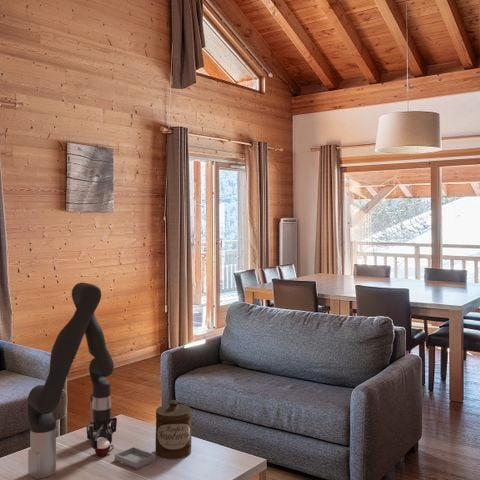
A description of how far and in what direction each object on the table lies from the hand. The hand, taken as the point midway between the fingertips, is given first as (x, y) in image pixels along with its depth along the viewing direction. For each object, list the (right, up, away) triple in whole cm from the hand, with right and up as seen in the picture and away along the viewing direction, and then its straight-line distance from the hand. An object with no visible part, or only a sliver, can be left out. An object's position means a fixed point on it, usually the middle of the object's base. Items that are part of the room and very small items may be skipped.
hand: (102, 445), depth 236 cm
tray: (+15, -4, -6) cm, 16 cm away
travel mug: (-5, -3, +15) cm, 16 cm away
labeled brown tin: (+29, -4, +3) cm, 30 cm away
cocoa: (0, -4, 0) cm, 4 cm away
